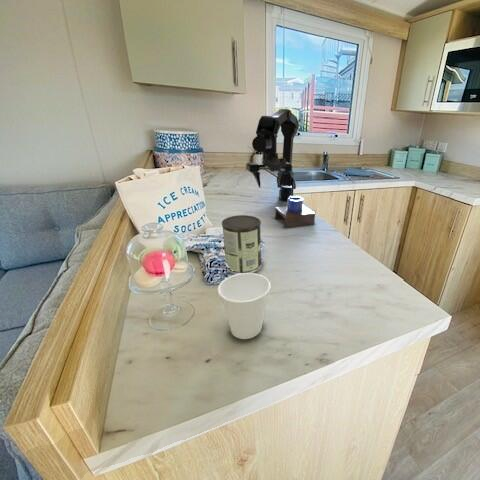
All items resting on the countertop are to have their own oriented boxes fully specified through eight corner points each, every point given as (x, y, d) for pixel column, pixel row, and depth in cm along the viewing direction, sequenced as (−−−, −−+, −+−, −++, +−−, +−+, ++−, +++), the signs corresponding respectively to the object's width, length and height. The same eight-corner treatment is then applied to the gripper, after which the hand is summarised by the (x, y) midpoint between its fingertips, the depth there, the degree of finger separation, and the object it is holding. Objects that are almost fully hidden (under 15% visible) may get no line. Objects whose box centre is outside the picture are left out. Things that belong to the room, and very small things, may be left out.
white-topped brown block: (302, 215, 125) (302, 204, 123) (314, 224, 115) (315, 213, 113) (275, 218, 119) (275, 207, 117) (285, 228, 109) (285, 216, 107)
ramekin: (298, 207, 119) (299, 195, 117) (305, 211, 114) (305, 200, 112) (284, 208, 116) (285, 196, 114) (290, 213, 111) (291, 201, 109)
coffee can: (241, 254, 87) (239, 212, 81) (268, 263, 83) (268, 219, 77) (217, 268, 78) (213, 222, 73) (246, 279, 75) (244, 231, 69)
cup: (227, 313, 62) (224, 272, 57) (272, 314, 63) (272, 272, 58) (216, 348, 53) (211, 301, 48) (268, 347, 54) (268, 302, 49)
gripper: (253, 152, 103) (254, 193, 109) (298, 152, 111) (297, 190, 118) (244, 148, 111) (246, 186, 118) (287, 148, 120) (286, 183, 127)
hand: (269, 186), depth 120 cm, fingers open, 9 cm apart
